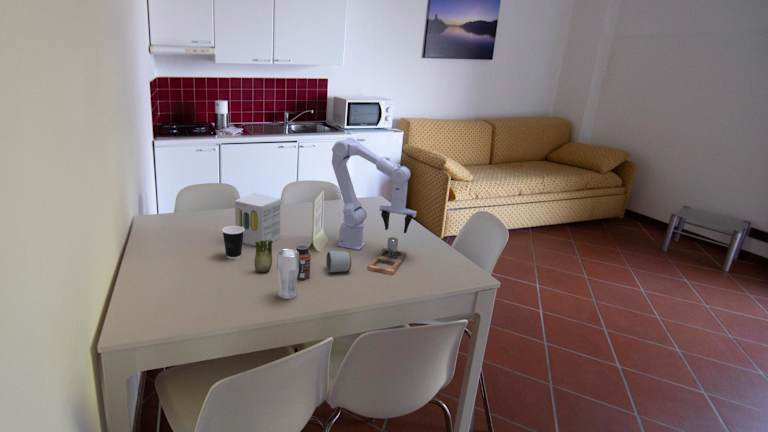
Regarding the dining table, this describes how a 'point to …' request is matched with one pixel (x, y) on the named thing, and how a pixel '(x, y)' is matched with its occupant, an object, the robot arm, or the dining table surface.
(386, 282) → the dining table surface
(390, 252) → the metal peg
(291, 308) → the dining table surface
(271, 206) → the supplement box
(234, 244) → the dixie cup
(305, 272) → the supplement bottle
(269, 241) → the fennel bulb
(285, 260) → the silver beverage can
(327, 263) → the ceramic mug
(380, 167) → the robot arm
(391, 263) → the rail
